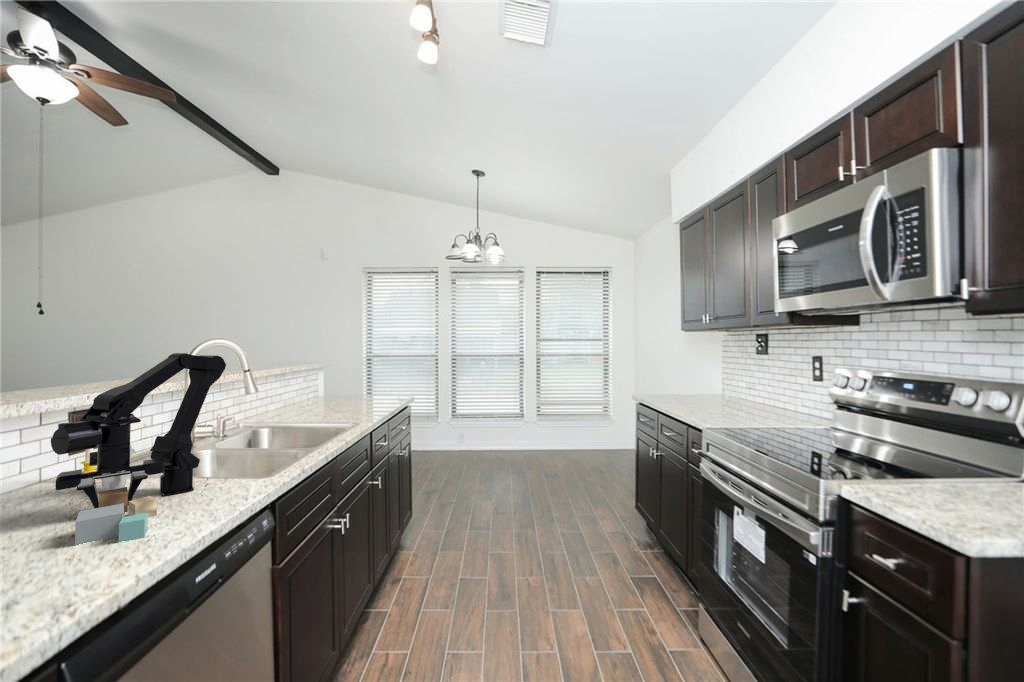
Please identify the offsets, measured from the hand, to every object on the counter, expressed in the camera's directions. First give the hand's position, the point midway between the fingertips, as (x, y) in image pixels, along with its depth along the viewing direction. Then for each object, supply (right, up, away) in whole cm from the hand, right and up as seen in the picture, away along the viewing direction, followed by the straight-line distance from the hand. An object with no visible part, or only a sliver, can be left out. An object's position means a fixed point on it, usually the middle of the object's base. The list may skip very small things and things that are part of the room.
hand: (113, 508), depth 100 cm
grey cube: (+8, -1, -11) cm, 14 cm away
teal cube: (+16, -1, -12) cm, 20 cm away
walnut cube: (0, -1, 0) cm, 1 cm away
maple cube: (+9, -1, -2) cm, 9 cm away
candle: (-30, -1, +24) cm, 38 cm away
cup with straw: (-15, -1, +16) cm, 21 cm away
